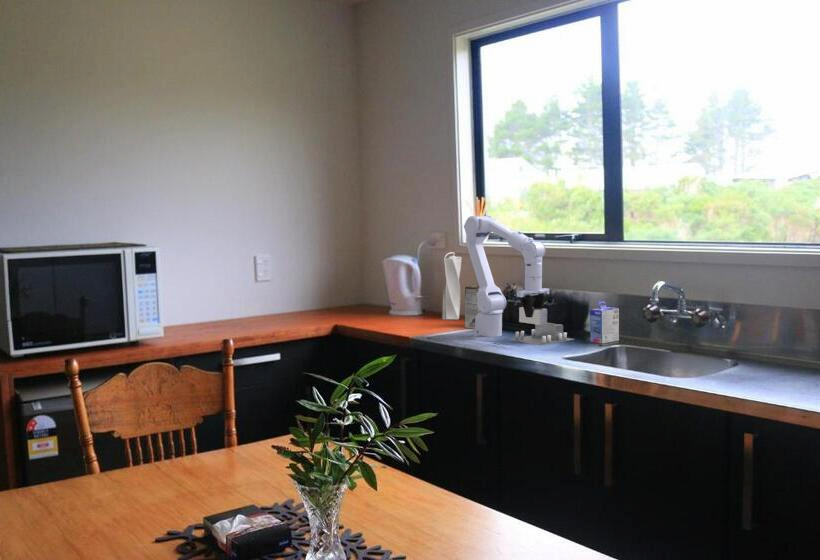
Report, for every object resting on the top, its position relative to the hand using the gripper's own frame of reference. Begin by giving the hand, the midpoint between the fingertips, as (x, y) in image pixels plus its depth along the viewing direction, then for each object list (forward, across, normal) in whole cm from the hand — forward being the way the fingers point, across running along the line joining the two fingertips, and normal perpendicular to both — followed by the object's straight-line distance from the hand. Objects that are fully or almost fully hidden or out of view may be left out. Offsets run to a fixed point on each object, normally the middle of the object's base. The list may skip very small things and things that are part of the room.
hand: (532, 316), depth 271 cm
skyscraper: (+10, +21, +63) cm, 67 cm away
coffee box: (+10, +12, +39) cm, 42 cm away
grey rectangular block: (+2, 0, 0) cm, 2 cm away
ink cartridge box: (+10, +19, -16) cm, 26 cm away
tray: (+9, +5, 0) cm, 10 cm away
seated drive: (+8, +9, 0) cm, 12 cm away
